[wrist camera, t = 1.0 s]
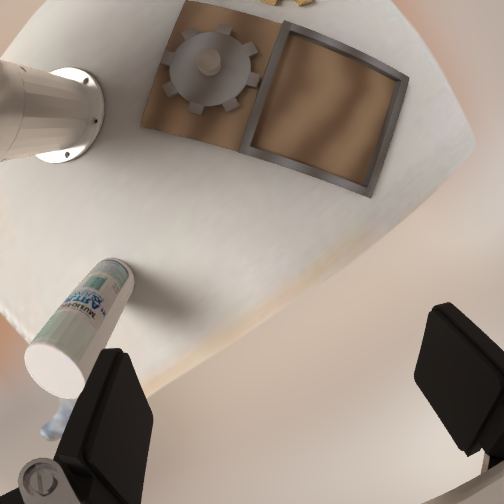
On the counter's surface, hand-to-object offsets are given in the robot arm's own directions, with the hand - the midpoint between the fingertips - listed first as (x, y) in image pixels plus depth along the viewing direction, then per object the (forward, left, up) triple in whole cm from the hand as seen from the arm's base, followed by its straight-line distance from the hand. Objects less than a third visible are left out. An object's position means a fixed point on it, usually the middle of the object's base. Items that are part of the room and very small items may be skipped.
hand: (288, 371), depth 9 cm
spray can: (-13, -16, -32) cm, 38 cm away
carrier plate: (+1, +13, -32) cm, 34 cm away
